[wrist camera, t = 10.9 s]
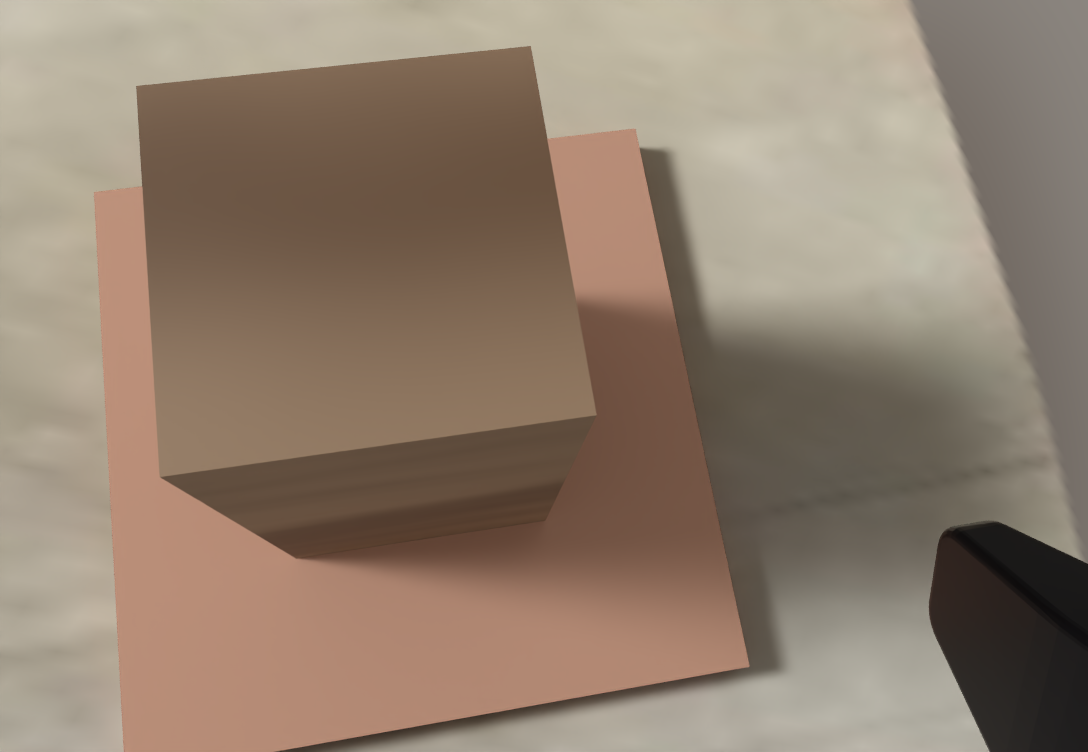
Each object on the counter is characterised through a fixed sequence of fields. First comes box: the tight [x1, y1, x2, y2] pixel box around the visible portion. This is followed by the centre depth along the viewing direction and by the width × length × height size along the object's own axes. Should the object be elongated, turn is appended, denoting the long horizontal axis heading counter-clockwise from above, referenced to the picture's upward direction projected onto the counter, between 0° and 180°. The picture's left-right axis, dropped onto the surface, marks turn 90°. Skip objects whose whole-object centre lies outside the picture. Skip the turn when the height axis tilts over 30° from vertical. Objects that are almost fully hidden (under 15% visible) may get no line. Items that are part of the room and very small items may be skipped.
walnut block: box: [136, 46, 597, 559], centre depth 17 cm, size 5×5×9 cm
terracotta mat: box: [94, 129, 750, 752], centre depth 21 cm, size 12×12×1 cm
